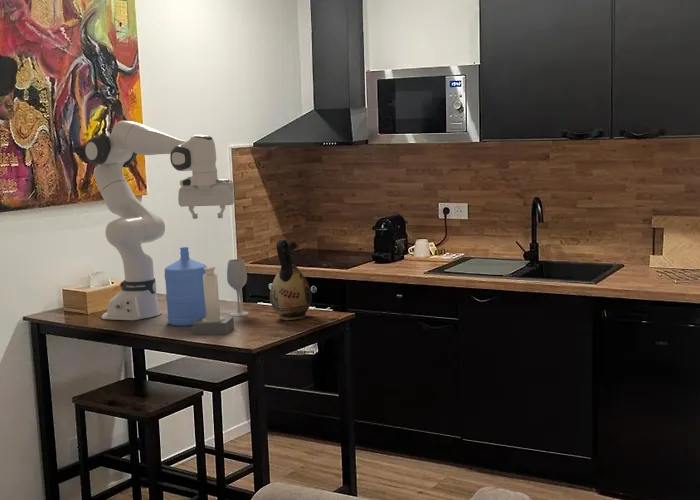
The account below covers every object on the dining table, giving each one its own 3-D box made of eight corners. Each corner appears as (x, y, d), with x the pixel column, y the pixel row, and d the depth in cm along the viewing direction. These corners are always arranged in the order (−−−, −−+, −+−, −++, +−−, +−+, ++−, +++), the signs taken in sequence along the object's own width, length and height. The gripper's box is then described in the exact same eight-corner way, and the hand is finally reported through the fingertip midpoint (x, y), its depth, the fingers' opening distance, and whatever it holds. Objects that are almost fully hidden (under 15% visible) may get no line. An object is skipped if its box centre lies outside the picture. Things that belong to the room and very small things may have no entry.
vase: (204, 320, 313) (200, 269, 310) (208, 317, 318) (204, 266, 315) (217, 320, 312) (214, 268, 309) (221, 317, 317) (218, 266, 314)
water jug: (202, 326, 324) (197, 250, 320) (161, 326, 326) (156, 251, 322) (215, 317, 339) (211, 244, 335) (176, 317, 341) (171, 245, 337)
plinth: (193, 334, 312) (192, 322, 311) (201, 327, 322) (201, 316, 321) (226, 334, 310) (225, 322, 309) (234, 327, 320) (233, 315, 319)
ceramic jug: (282, 312, 342) (277, 235, 337) (319, 314, 336) (315, 235, 332) (262, 322, 326) (257, 241, 322) (300, 324, 320) (296, 242, 316)
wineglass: (251, 311, 345) (247, 258, 342) (246, 316, 338) (243, 261, 335) (231, 312, 346) (228, 259, 343) (227, 316, 339) (223, 262, 336)
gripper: (235, 178, 321) (237, 216, 323) (181, 180, 324) (183, 218, 326) (230, 179, 315) (233, 218, 317) (175, 181, 318) (178, 220, 320)
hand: (207, 218), depth 321 cm, fingers open, 8 cm apart
